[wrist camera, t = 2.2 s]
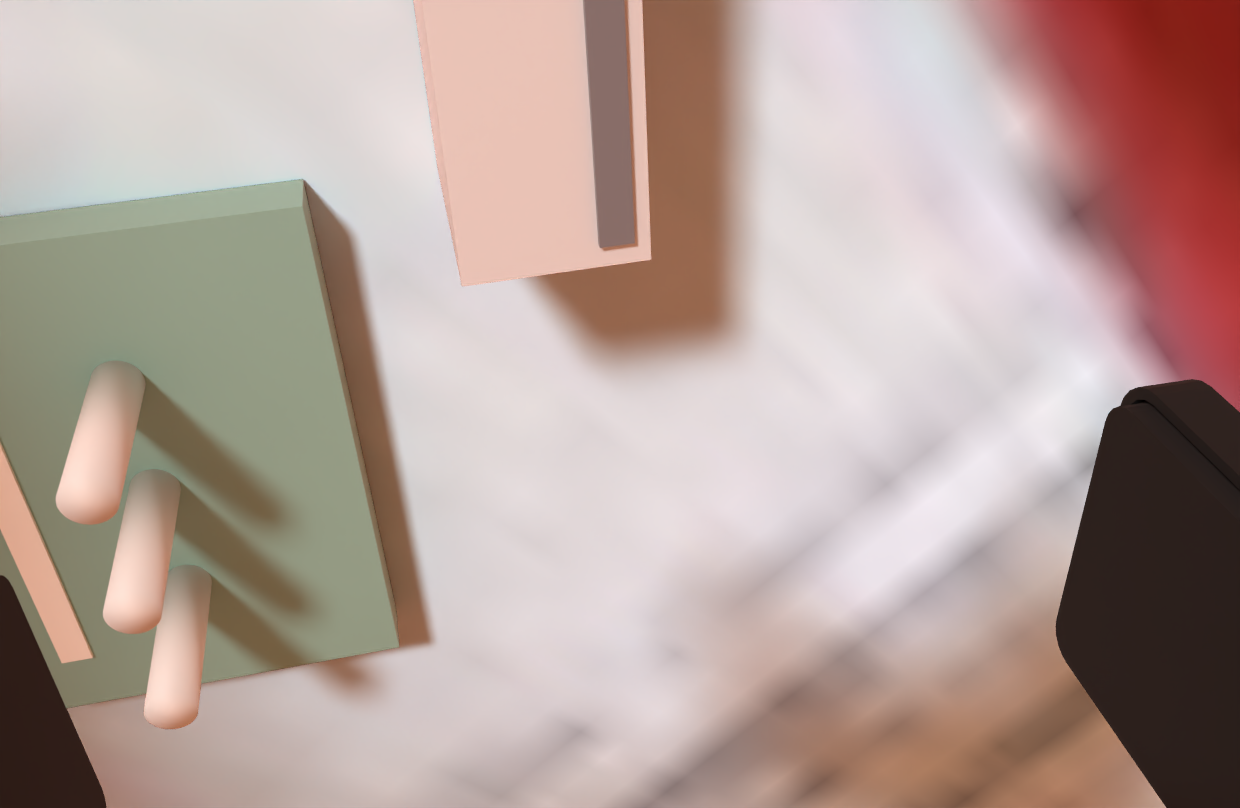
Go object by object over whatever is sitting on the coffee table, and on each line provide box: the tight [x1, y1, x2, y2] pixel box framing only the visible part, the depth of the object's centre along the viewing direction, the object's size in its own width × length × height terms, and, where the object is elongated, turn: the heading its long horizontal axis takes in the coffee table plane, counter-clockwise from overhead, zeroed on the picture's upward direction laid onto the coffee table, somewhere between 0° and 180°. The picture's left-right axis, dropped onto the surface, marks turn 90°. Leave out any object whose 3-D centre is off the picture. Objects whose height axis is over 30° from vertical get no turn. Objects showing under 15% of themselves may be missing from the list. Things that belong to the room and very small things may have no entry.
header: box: [0, 179, 399, 729], centre depth 28 cm, size 14×10×6 cm
